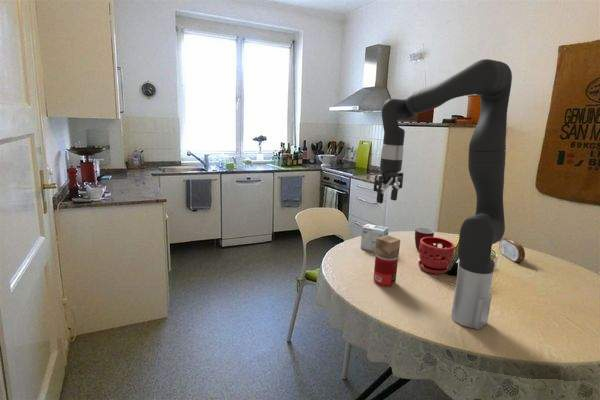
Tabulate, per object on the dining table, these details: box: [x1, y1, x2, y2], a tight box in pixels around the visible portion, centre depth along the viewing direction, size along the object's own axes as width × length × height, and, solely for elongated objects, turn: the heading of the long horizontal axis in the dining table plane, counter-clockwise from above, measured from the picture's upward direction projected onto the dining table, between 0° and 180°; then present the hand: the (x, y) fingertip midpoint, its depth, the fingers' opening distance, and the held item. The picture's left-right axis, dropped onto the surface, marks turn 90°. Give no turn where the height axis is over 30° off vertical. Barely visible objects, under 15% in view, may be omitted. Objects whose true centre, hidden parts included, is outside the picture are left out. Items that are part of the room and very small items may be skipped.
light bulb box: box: [360, 223, 389, 253], centre depth 163 cm, size 11×7×11 cm, turn 58°
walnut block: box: [374, 234, 401, 259], centre depth 128 cm, size 6×6×6 cm
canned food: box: [373, 254, 399, 288], centre depth 130 cm, size 8×8×11 cm
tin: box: [498, 237, 526, 263], centre depth 158 cm, size 15×3×8 cm, turn 2°
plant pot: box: [417, 236, 456, 275], centre depth 143 cm, size 13×13×12 cm
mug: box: [414, 227, 435, 253], centre depth 164 cm, size 10×8×10 cm
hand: (386, 201), depth 131 cm, fingers open, 8 cm apart
